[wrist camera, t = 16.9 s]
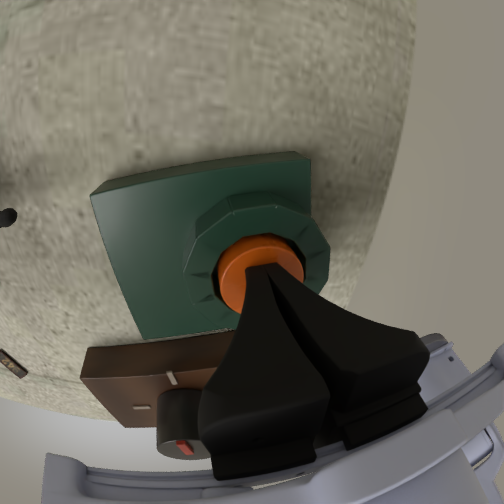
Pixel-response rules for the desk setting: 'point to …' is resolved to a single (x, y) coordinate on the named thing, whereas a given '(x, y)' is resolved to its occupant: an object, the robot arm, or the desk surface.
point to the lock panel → (150, 373)
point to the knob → (179, 425)
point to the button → (252, 264)
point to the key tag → (12, 365)
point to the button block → (202, 234)
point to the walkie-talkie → (7, 217)
